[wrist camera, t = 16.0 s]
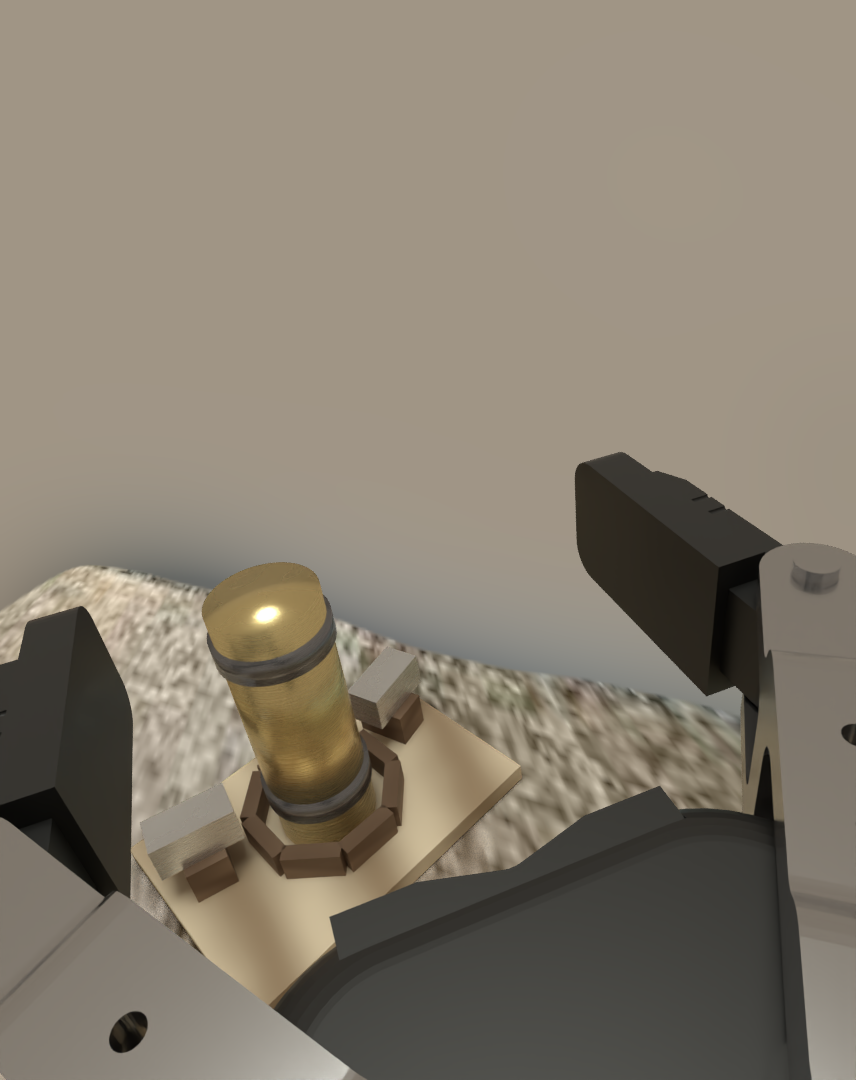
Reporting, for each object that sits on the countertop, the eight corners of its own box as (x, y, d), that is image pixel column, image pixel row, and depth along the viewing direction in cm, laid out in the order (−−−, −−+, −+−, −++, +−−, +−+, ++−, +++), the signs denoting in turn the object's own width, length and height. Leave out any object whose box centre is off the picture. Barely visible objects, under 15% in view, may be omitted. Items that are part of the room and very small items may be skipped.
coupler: (318, 875, 35) (239, 658, 28) (258, 813, 39) (174, 604, 31) (401, 803, 38) (349, 588, 31) (338, 750, 42) (278, 546, 34)
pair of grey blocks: (172, 894, 33) (158, 868, 32) (144, 855, 35) (129, 829, 34) (433, 689, 42) (428, 663, 41) (398, 667, 44) (393, 642, 43)
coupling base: (257, 1032, 31) (238, 996, 29) (135, 860, 39) (115, 824, 37) (521, 778, 40) (518, 739, 38) (379, 680, 48) (371, 645, 46)
